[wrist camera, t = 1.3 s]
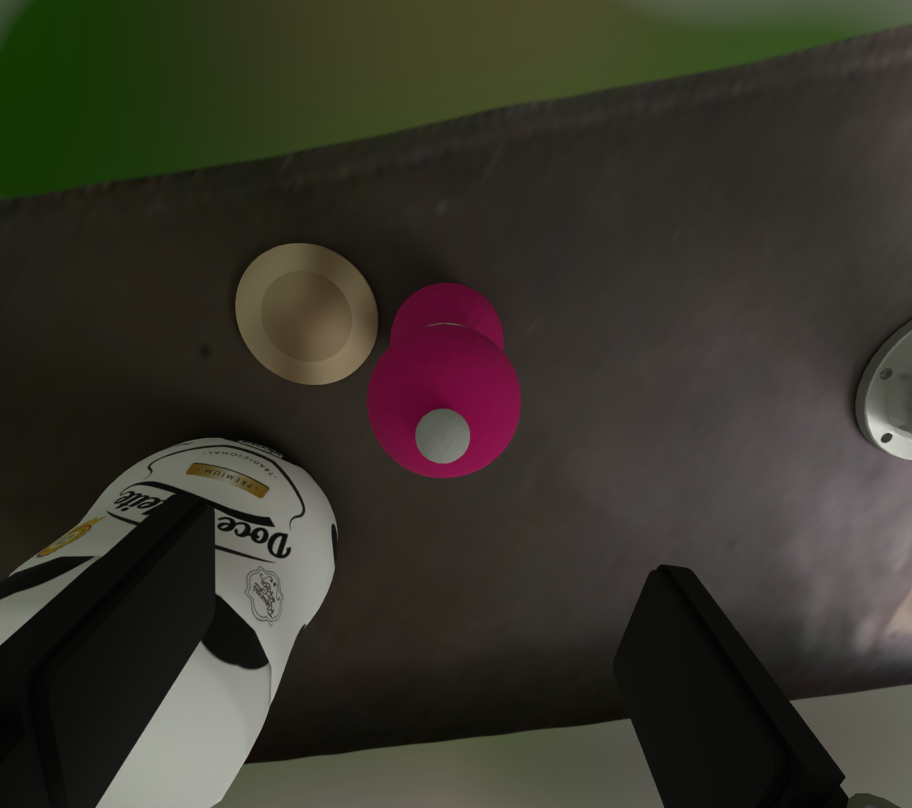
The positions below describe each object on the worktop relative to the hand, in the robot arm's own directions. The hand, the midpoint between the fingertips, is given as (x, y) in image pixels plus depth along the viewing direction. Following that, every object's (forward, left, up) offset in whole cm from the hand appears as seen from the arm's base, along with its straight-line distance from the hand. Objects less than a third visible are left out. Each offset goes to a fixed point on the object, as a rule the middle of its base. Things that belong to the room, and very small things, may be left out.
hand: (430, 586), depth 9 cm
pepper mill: (0, -1, -25) cm, 25 cm away
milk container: (+14, +18, -25) cm, 34 cm away
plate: (+10, 0, -25) cm, 27 cm away
